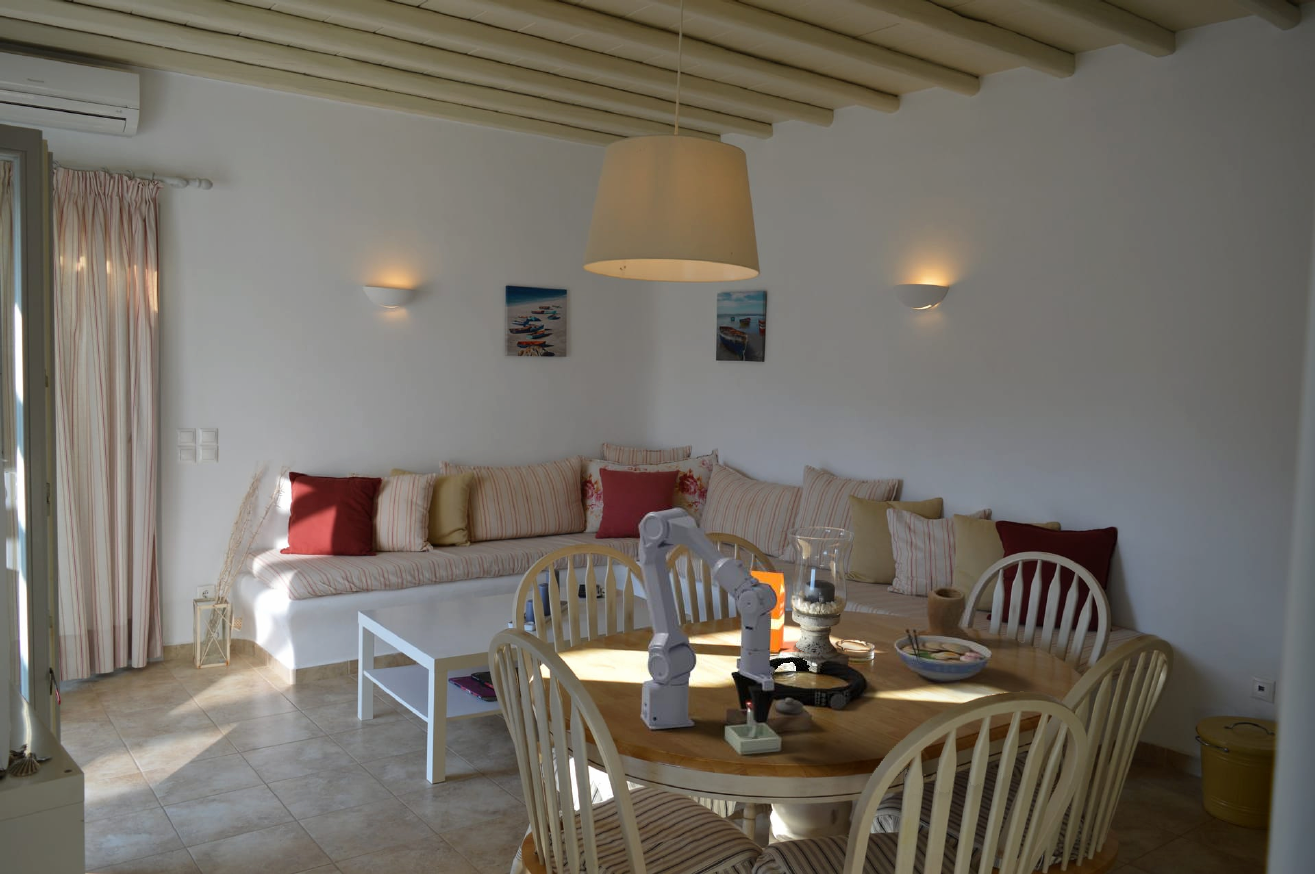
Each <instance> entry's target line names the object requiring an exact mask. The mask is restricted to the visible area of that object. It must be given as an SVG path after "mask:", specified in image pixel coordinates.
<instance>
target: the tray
mask: <svg viewBox="0 0 1315 874" xmlns="http://www.w3.org/2000/svg"><path fill="white" fill-rule="evenodd" d="M746 733H747V724H745V725H733V726H728V725H724V739H725V741H727V742H728V744H729V745H730V746H731V747H733V749H734V750H735V751H736V752H737V753H738V754H739V755H751V754H760V753H761V754H762V753H771V752H781V751H782V738H781V736H780V735H779V734H777V732H774V731H773V730H772V729H771V728H769V727H768V726H767V725H766V724H765V723H759V739H750V740H746ZM780 750H781V751H780Z"/></svg>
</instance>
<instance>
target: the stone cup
mask: <svg viewBox="0 0 1315 874" xmlns="http://www.w3.org/2000/svg"><path fill="white" fill-rule="evenodd" d="M965 609H966V596H965V594H964V593H963V592H962V591H961V590H959V589H957V588H954V587H949V586H939V587H935V588H934V589H932V590H931V591H930V592H929V594H928V597H927V603H926V613H927V618H928V624H929V625H928V629H925V630H921V631H919V632H916V635H917V636H943V637H951V638H958V639H962V640H967V639H968V638H969V633H968V632H966V631H965V630H964V629H963V628H962V627H961V626H960V625H959V624H960V622H961V619H962V617H963V615H964V614H963V613H964V611H965Z"/></svg>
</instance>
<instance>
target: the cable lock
mask: <svg viewBox="0 0 1315 874" xmlns="http://www.w3.org/2000/svg"><path fill="white" fill-rule="evenodd" d="M803 658H804V657H803ZM803 658H801V657H796V656H788V657H776V658H771V659H770V666H771V667H773V668H775V670H776V669H777V668H778V666H780V665H781V664H783V663H790V662H793V663H794V664H795V666H796V672H797V673H798V672H801V673H804V672H807V671H809V669H808V668H809V667H810V666H809V665H807V661H805V660H803ZM771 675H773V674H772V673H771ZM820 675H828V676H830V677H834V678H839V679H842V680H843V681H845V682H846V683H849V684H848V685H844V686H842V685H841V686H836V687H830V688H826V687H825V688H820V687H819V688H818V687H817V688H813V687H809V688H808V687H807V688H806V687H801V686H793V685H786V684H783V683H780V682H776V681H774V686H776V687H777V688H778V689H779V692H778V694H777V695H776V697H775V698H774V700H777V701H778V700H783V699H786V698H792V699H793V700H796V701H799V702H801V703H802V704H803V705H814V706H817V707H825V706H826V707H827V708H828V709H833V710H835V711H837V710H843V708H844V707H846V704H849V702H850V701H854V700H856V699H859V698H860V697H862V696H863V695H864V694H865V693H866V692H867V689H868V682H867V681H868V680H867V679H866V678H865V675H863V673H861V672H860V671H859V670H857V669H855V668H853V667H851V666H849V665H848V664H845V663H840V662H837V661H834V660H826V662H824V663H822V666H821V668H820ZM756 686H758V682H757V684H756Z"/></svg>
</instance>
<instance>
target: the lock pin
mask: <svg viewBox="0 0 1315 874" xmlns="http://www.w3.org/2000/svg"><path fill="white" fill-rule="evenodd" d="M746 707H747V733H746V740H750V739H759V723H756V722H755V718H754V708H753V701H752V699H751V700H747V701H746Z"/></svg>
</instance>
